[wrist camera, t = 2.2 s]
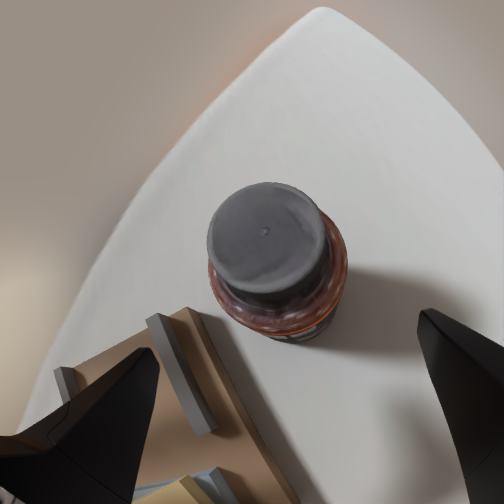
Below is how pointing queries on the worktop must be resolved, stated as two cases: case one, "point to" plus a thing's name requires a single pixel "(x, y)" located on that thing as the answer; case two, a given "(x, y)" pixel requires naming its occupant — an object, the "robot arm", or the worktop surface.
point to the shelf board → (191, 421)
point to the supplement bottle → (276, 262)
